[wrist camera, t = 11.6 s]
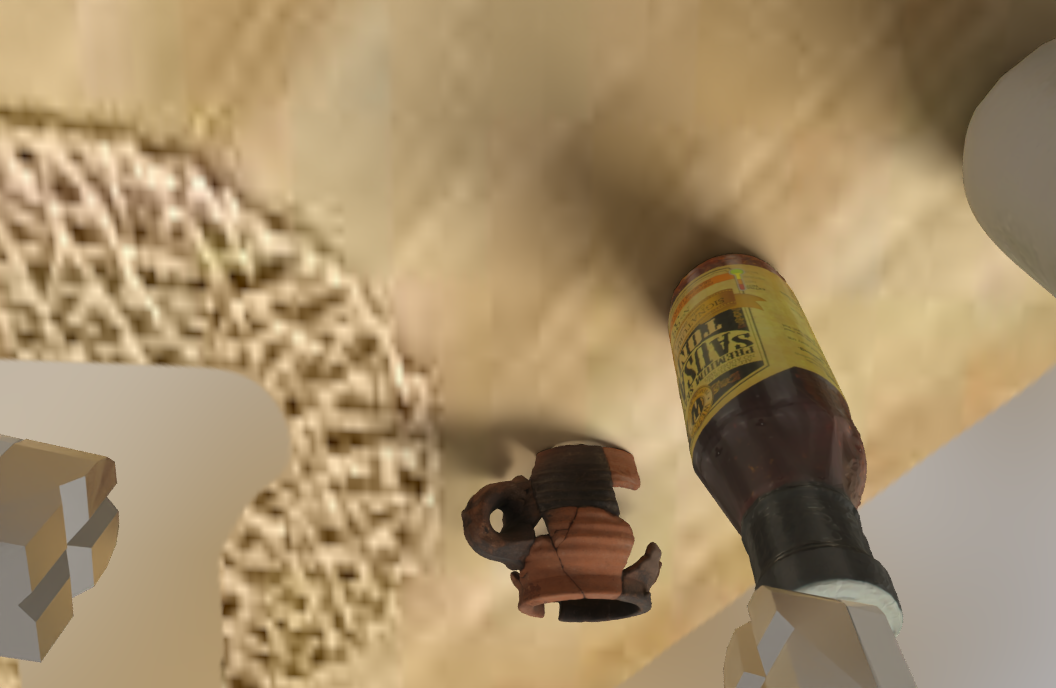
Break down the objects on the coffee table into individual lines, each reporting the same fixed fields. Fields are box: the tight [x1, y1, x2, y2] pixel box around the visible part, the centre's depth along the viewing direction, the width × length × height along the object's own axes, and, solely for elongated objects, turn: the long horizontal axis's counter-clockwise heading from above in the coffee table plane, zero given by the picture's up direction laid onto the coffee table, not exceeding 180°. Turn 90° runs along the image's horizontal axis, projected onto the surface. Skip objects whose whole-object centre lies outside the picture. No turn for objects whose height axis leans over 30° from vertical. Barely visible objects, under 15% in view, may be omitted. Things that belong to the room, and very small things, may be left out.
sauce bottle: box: [668, 254, 903, 638], centre depth 31 cm, size 7×6×20 cm
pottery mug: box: [461, 444, 662, 622], centre depth 45 cm, size 12×10×8 cm
